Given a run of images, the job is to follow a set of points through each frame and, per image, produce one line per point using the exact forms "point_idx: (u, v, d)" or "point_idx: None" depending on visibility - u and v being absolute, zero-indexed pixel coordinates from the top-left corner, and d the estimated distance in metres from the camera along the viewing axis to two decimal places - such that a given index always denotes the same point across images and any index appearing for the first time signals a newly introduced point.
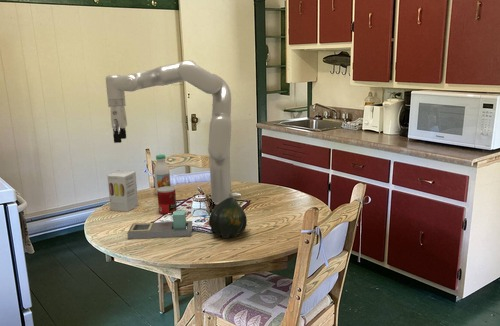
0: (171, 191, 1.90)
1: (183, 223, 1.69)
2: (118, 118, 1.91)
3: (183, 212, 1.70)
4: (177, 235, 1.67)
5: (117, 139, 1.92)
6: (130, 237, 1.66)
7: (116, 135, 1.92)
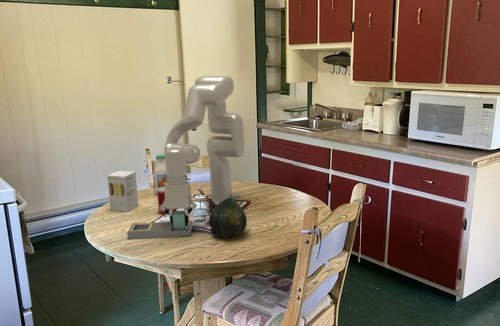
0: None
1: (183, 223, 1.69)
2: None
3: (183, 212, 1.70)
4: (177, 235, 1.67)
5: (188, 219, 1.71)
6: (130, 237, 1.66)
7: (188, 215, 1.70)
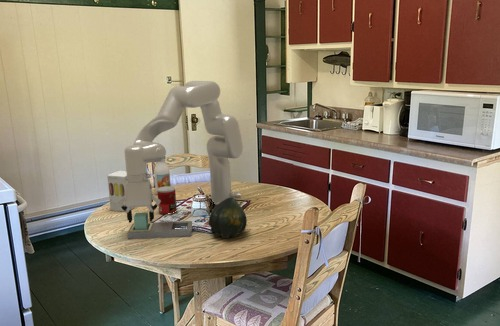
0: (171, 191, 1.90)
1: (144, 225, 1.68)
2: None
3: (145, 214, 1.69)
4: (177, 235, 1.67)
5: (153, 216, 1.70)
6: (130, 237, 1.66)
7: (153, 212, 1.69)
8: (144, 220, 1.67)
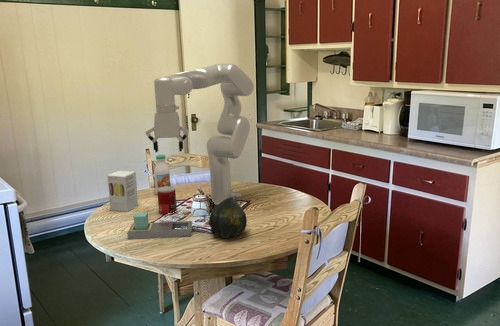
0: (171, 191, 1.90)
1: (144, 225, 1.68)
2: (179, 124, 1.75)
3: (145, 214, 1.69)
4: (177, 235, 1.67)
5: None
6: (130, 237, 1.66)
7: (182, 142, 1.76)
8: (144, 220, 1.67)
